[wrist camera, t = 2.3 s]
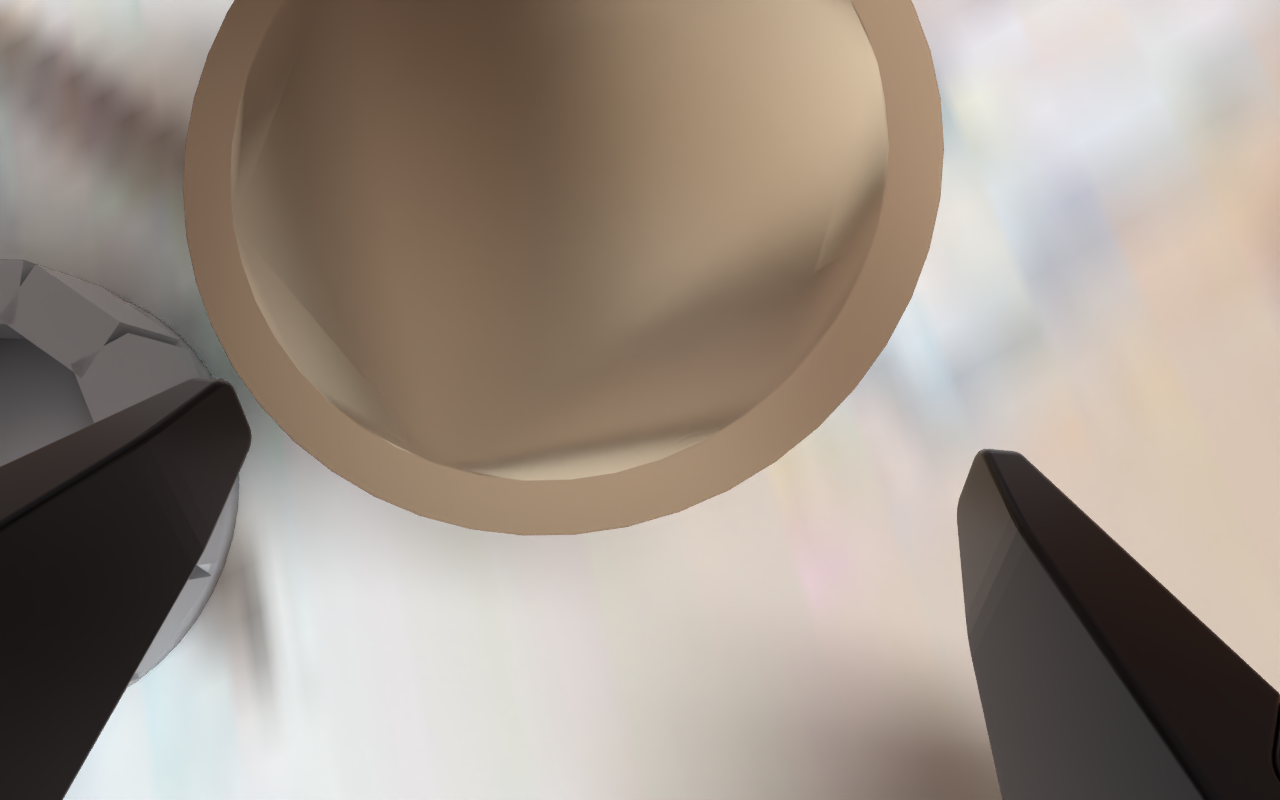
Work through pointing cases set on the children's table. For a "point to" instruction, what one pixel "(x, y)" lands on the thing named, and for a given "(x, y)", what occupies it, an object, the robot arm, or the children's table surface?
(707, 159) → the beech plug
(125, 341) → the ring socket
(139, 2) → the children's table surface
